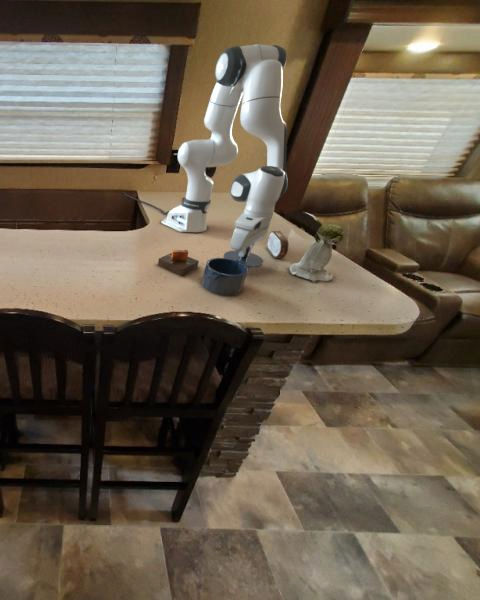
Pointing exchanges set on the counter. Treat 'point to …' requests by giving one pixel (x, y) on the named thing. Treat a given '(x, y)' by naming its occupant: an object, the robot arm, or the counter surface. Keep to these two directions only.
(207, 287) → the pot
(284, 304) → the counter surface
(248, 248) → the pot lid
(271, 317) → the counter surface
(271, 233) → the tin
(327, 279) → the mossy white figurine
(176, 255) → the block
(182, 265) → the handle block
